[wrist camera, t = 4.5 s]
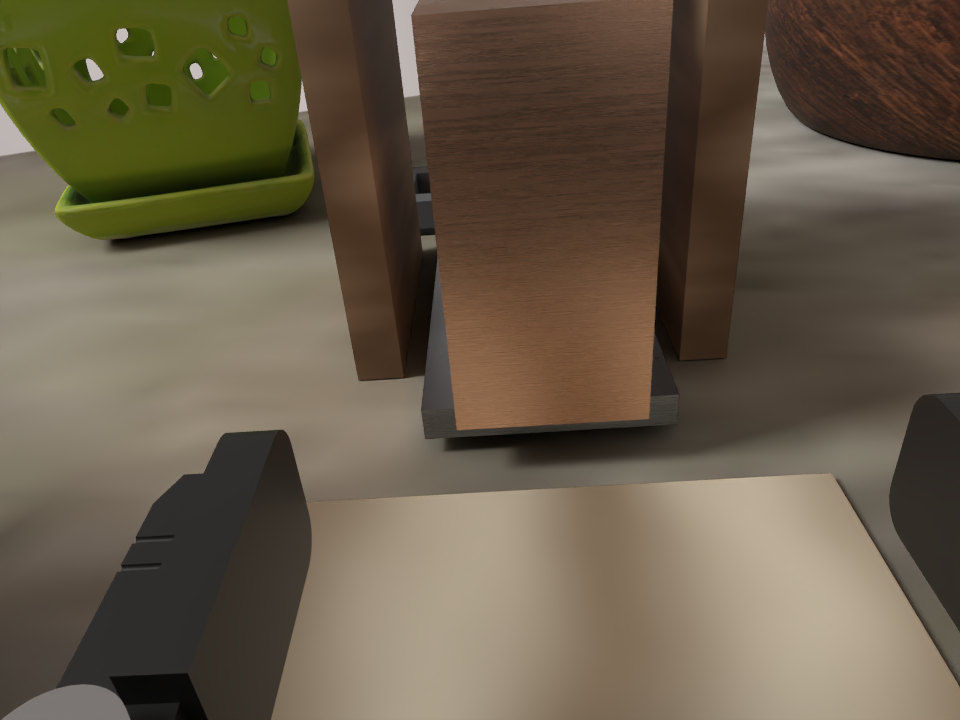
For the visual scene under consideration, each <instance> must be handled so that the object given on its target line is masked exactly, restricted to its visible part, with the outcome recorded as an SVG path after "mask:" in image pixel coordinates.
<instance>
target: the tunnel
mask: <svg viewBox="0 0 960 720" xmlns="http://www.w3.org/2000/svg"><path fill="white" fill-rule="evenodd" d="M287 2H288V7H289V12H290V18H291V23H292V28H293V34H294V39H295V44H296V50H297V55H298V60H299V66H300V71H301V76H302V81H303V86H304V92H305V98H306V102H307V108H308V114H309V119H310V124H311V130H312V135H313V140H314V146H315V151H316V156H317V162H318V167H319V172H320V178H321V183H322V188H323V194H324V199H325V204H326V210H327V215H328V220H329V226H330V231H331V236H332V242H333V247H334V252H335V258H336V263H337V268H338V274H339V279H340V284H341V290H342V295H343V300H344V306H345V311H346V316H347V322H348V327H349V332H350V338H351V343H352V348H353V354H354V359H355V364H356V370H357V375H358V380H370V379H386V378H403V377H404V372H405V366H406V359H407V352H408V346H409V339H410V332H411V326H412V319H413V312H414V306H415V299H416V292H417V286H418V279H419V272H420V266H421V259H422V244H421V236H420V227H419V219H418V211H417V203H416V194H415V186H414V178H413V170H412V161H411V153H410V145H409V136H408V128H407V120H406V112H405V103H404V95H403V88H402V79H401V70H400V62H399V54H398V46H397V37H396V29H395V21H394V13H393V4H392V0H287ZM767 9H768V0H673V14H672V31H671V48H670V65H669V83H668V100H667V117H666V134H665V152H664V169H663V186H662V203H661V221H660V238H659V255H658V273H657V290H656V306H657V308H658V311H659V313H660V316H661V318H662V320H663V323H664V325H665V327H666V330H667V332H668V335H669V337H670V339H671V342H672V344H673V346H674V349H675V351H676V354H677V356H678V358H679V361H681V360H697V359H714V358H726V355H727V346H728V338H729V329H730V321H731V313H732V304H733V296H734V287H735V279H736V270H737V262H738V253H739V245H740V237H741V228H742V220H743V211H744V203H745V194H746V186H747V177H748V169H749V161H750V152H751V144H752V135H753V127H754V118H755V110H756V101H757V93H758V85H759V76H760V68H761V59H762V51H763V41H764V34H765V25H766V17H767Z"/></svg>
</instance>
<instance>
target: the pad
mask: <svg viewBox="0 0 960 720" xmlns="http://www.w3.org/2000/svg"><path fill="white" fill-rule="evenodd" d="M306 504H307V508H308V511H309V516H310V521H311V530H312V550H311V559H310V565H309V569H308V573H307V577H306V581H305V585H304V589H303V593H302V597H301V601H300V605H299V609H298V613H297V617H296V621H295V625H294V629H293V633H292V637H291V641H290V645H289V649H288V653H287V657H286V661H285V665H284V669H283V673H282V677H281V681H280V685H279V689H278V693H277V697H276V701H275V705H274V709H273V713H272V717H271V720H960V687H959V685H958V683H957V682H956V680H955V678H954V677H953V675H952V673H951V672H950V670H949V668H948V667H947V665H946V663H945V662H944V660H943V658H942V657H941V655H940V653H939V652H938V650H937V648H936V647H935V645H934V643H933V642H932V640H931V638H930V637H929V635H928V633H927V632H926V630H925V628H924V627H923V625H922V623H921V622H920V620H919V618H918V617H917V615H916V613H915V612H914V610H913V608H912V607H911V605H910V603H909V602H908V600H907V598H906V597H905V595H904V593H903V591H902V590H901V588H900V586H899V585H898V583H897V581H896V580H895V578H894V576H893V575H892V573H891V571H890V570H889V568H888V566H887V565H886V563H885V561H884V560H883V558H882V556H881V555H880V553H879V551H878V550H877V548H876V546H875V545H874V543H873V541H872V540H871V538H870V536H869V535H868V533H867V531H866V530H865V528H864V526H863V525H862V523H861V521H860V520H859V518H858V516H857V515H856V513H855V511H854V510H853V508H852V506H851V505H850V503H849V501H848V500H847V498H846V496H845V495H844V493H843V491H842V490H841V488H840V486H839V485H838V483H837V481H836V480H835V478H834V476H833V475H832V473H824V474H806V475H788V476H770V477H752V478H734V479H716V480H698V481H680V482H662V483H644V484H626V485H607V486H589V487H571V488H553V489H535V490H517V491H499V492H481V493H463V494H445V495H427V496H409V497H391V498H373V499H355V500H337V501H319V502H306Z"/></svg>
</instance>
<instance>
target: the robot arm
mask: <svg viewBox="0 0 960 720" xmlns="http://www.w3.org/2000/svg"><path fill="white" fill-rule="evenodd" d="M889 504H890V512H891V517H892V521H893V524H894V527H895V529H896V532H897V534H898V536H899V537H900V539H901V541H902V542H903V544H904V545H905V547H906V549H907V550H908V552H909V553H910V555H911V556H912V558H913V559H914V561H915V563H916V564H917V566H918V567H919V569H920V570H921V572H922V574H923V575H924V577H925V578H926V580H927V581H928V583H929V584H930V586H931V588H932V589H933V591H934V592H935V594H936V595H937V597H938V599H939V600H940V602H941V603H942V605H943V606H944V608H945V609H946V611H947V613H948V614H949V616H950V617H951V619H952V620H953V622H954V624H955V625H956V627H957V628H958V630H959V631H960V393H946V394H929V395H924V396H922V397H920V398H919V399H918V400H917V402H916V403H915V405H914V407H913V410H912V413H911V416H910V420H909V423H908V427H907V430H906V434H905V437H904V441H903V444H902V448H901V451H900V455H899V458H898V462H897V465H896V469H895V473H894V476H893V480H892V483H891V487H890V494H889ZM311 550H312V530H311V521H310V516H309V511H308V508H307V504H306V500H305V496H304V492H303V488H302V484H301V480H300V476H299V473H298V469H297V465H296V461H295V457H294V453H293V449H292V445H291V442H290V439H289V437H288V435H287V433H286V432H285V431H284V430H270V431H253V432H235V433H225V434H224V435H223V436H222V437H221V438H220V440H219V442H218V444H217V446H216V448H215V450H214V452H213V454H212V457H211V459H210V461H209V463H208V465H207V467H206V469H205V472H204V474H187V475H183V476H182V477H181V478H180V479H179V480H178V481H177V482H176V483H175V484H174V485H173V486H172V487H171V488H169V489H168V490H167V491H166V492H165V493H164V494H163V495H162V496H161V497H160V498H159V499H158V500H157V501H156V502H155V503H154V504H153V505H152V507H151V509H150V511H149V513H148V515H147V517H146V519H145V521H144V522H143V524H142V526H141V528H140V530H139V532H138V534H137V536H136V544H132V545H131V547H130V549H129V551H128V553H127V555H126V557H125V559H124V561H123V562H122V564H121V566H122V570H121V572H117V574H116V576H115V578H114V580H113V582H112V583H111V585H110V587H109V589H108V591H107V593H106V595H105V597H104V599H103V601H102V602H101V604H100V606H99V608H98V610H97V612H96V614H95V616H94V618H93V620H92V622H91V623H90V625H89V627H88V629H87V631H86V633H85V635H84V637H83V639H82V641H81V643H80V644H79V646H78V648H77V650H76V652H75V654H74V656H73V658H72V660H71V662H70V663H69V665H68V667H67V669H66V671H65V673H64V675H63V677H62V679H61V681H60V682H59V684H58V686H57V687H56V689H54V690H52V691H49V692H46V693H43V694H41V695H39V696H37V697H35V698H33V699H31V700H29V701H27V702H26V703H24V704H22V705H21V706H19V707H18V708H16V709H15V710H13V711H12V712H11V713H9V714H8V715H7V716H5V717H4V718H3V719H2V720H271V717H272V713H273V709H274V705H275V701H276V697H277V693H278V689H279V685H280V681H281V677H282V673H283V669H284V665H285V661H286V657H287V653H288V649H289V645H290V641H291V637H292V633H293V629H294V625H295V621H296V617H297V613H298V609H299V605H300V601H301V597H302V593H303V589H304V585H305V581H306V577H307V573H308V569H309V565H310V559H311Z"/></svg>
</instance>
